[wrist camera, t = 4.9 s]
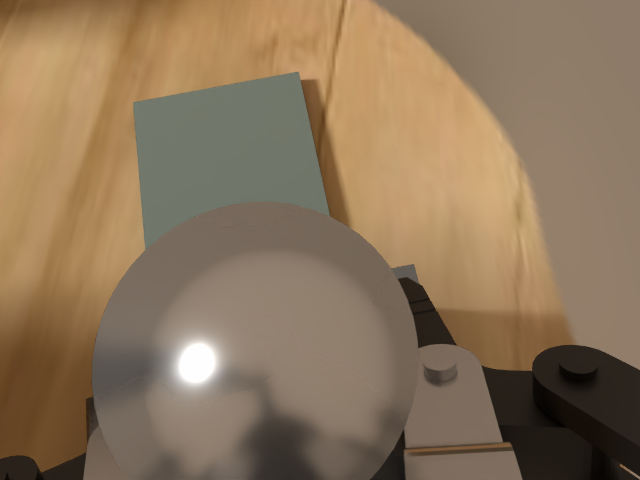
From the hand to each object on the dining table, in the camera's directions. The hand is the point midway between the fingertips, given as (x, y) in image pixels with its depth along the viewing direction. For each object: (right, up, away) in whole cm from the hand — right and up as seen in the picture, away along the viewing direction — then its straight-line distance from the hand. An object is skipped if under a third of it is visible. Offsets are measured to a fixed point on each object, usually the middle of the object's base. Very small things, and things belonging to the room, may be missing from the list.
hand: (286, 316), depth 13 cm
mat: (-3, +5, +13) cm, 14 cm away
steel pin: (+1, -4, +6) cm, 7 cm away
